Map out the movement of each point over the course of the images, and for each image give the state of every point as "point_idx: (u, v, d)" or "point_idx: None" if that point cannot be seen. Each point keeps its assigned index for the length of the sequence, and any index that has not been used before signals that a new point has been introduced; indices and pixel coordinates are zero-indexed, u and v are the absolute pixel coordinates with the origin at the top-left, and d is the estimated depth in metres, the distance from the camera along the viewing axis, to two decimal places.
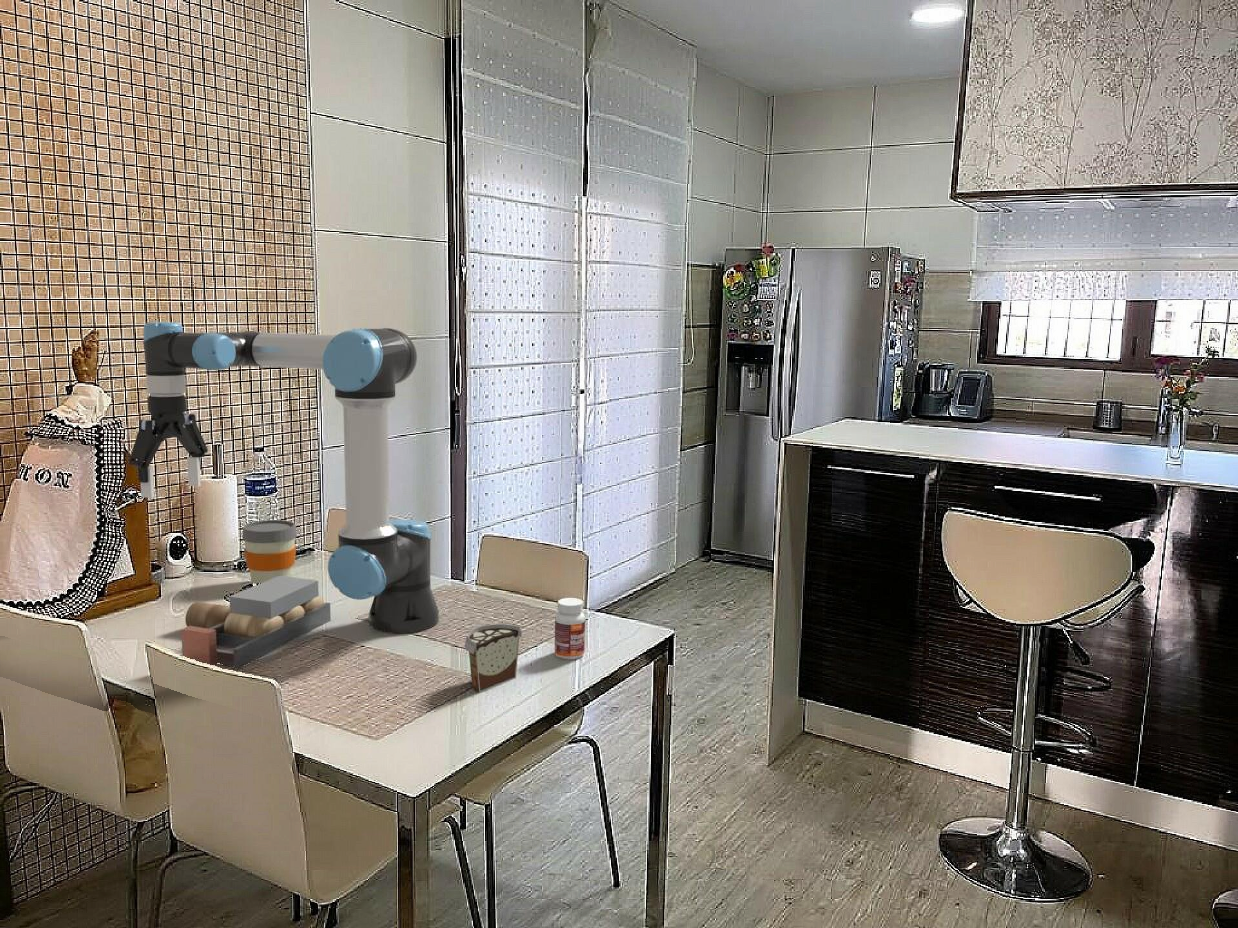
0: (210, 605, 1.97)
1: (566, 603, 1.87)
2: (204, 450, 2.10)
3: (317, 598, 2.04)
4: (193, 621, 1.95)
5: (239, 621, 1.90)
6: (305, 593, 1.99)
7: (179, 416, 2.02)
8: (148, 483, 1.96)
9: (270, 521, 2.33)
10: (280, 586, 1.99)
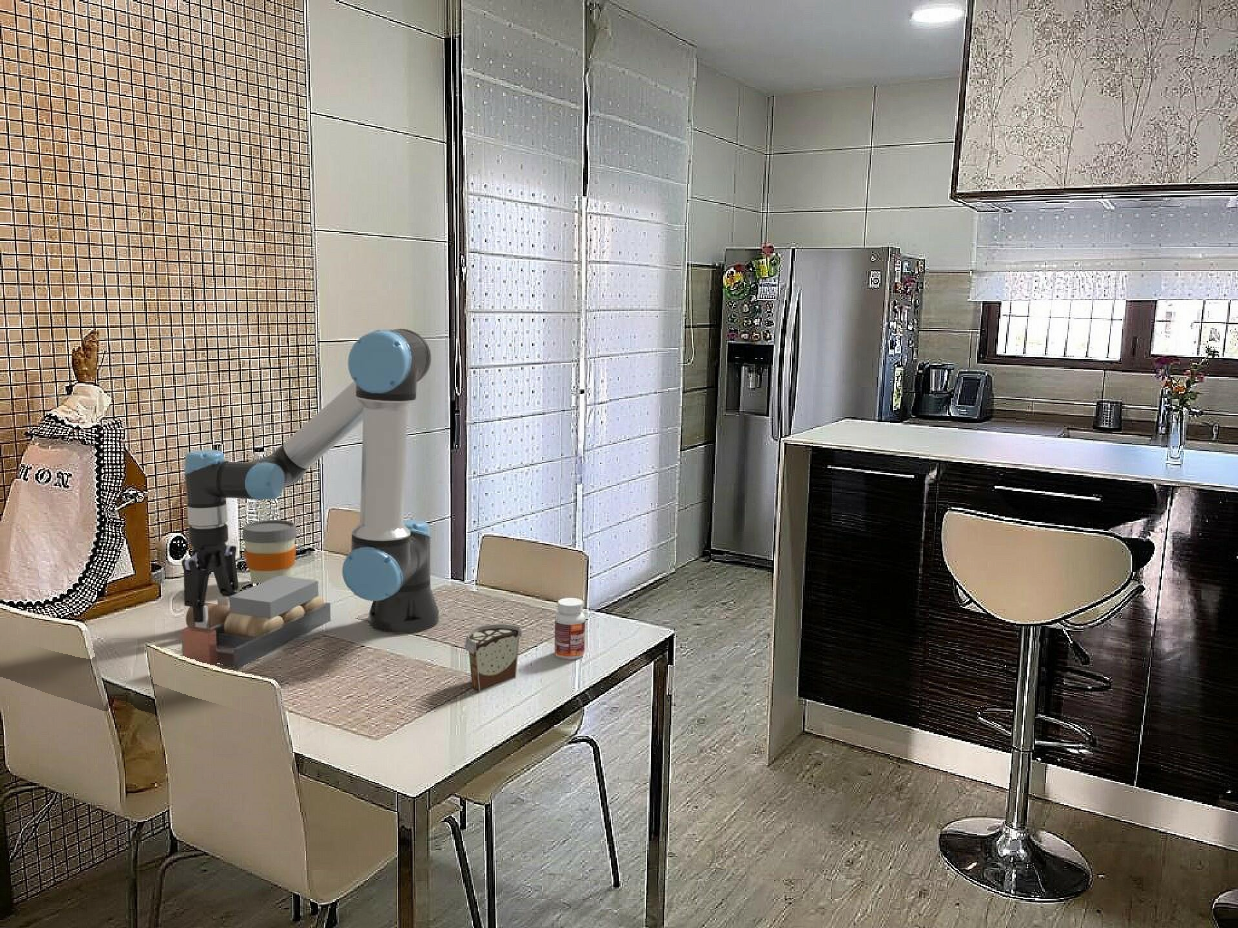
0: (214, 604, 1.97)
1: (566, 603, 1.87)
2: (235, 587, 2.01)
3: (317, 598, 2.04)
4: None
5: (239, 622, 1.90)
6: (305, 593, 1.99)
7: (222, 543, 1.97)
8: (203, 622, 1.93)
9: (270, 521, 2.33)
10: (280, 586, 1.99)
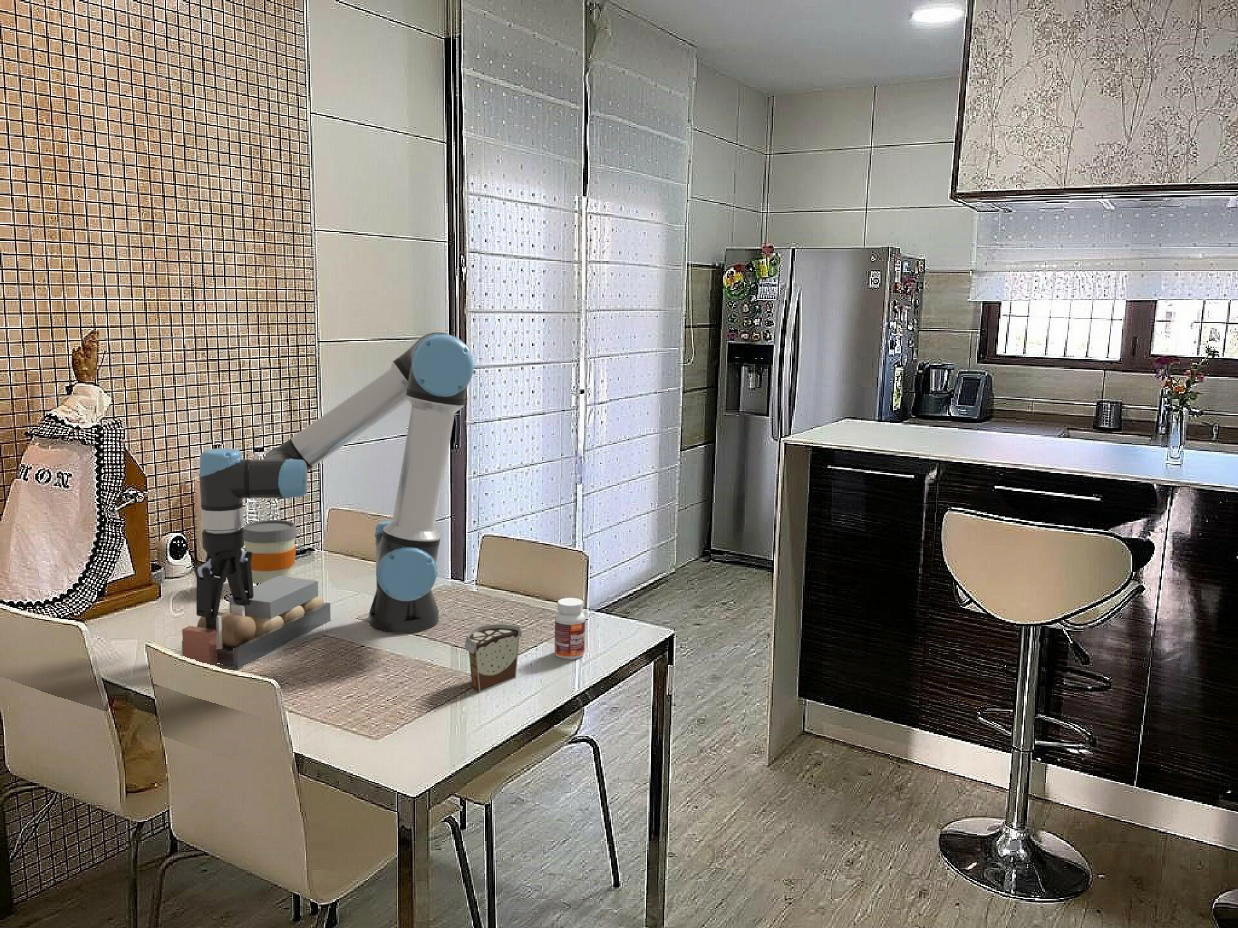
0: (226, 613, 1.84)
1: (566, 603, 1.87)
2: (250, 595, 1.88)
3: (317, 598, 2.04)
4: (205, 627, 1.82)
5: None
6: (305, 593, 1.99)
7: None
8: (216, 633, 1.80)
9: (270, 521, 2.33)
10: (280, 586, 1.99)
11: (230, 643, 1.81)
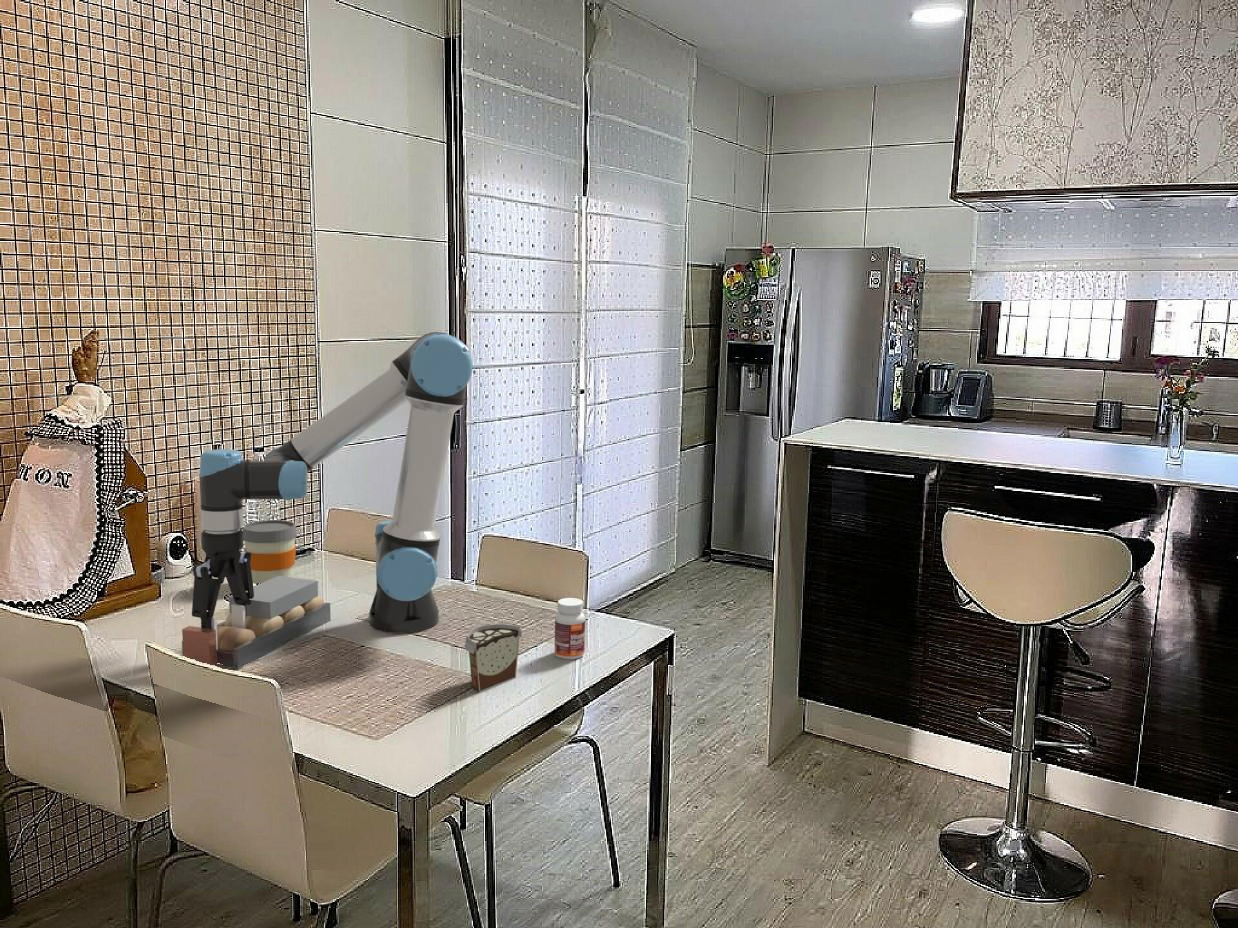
0: (226, 626, 1.84)
1: (566, 603, 1.87)
2: (250, 595, 1.88)
3: (317, 598, 2.04)
4: None
5: None
6: (305, 593, 1.99)
7: (236, 550, 1.83)
8: None
9: (270, 521, 2.33)
10: (279, 586, 1.99)
11: None
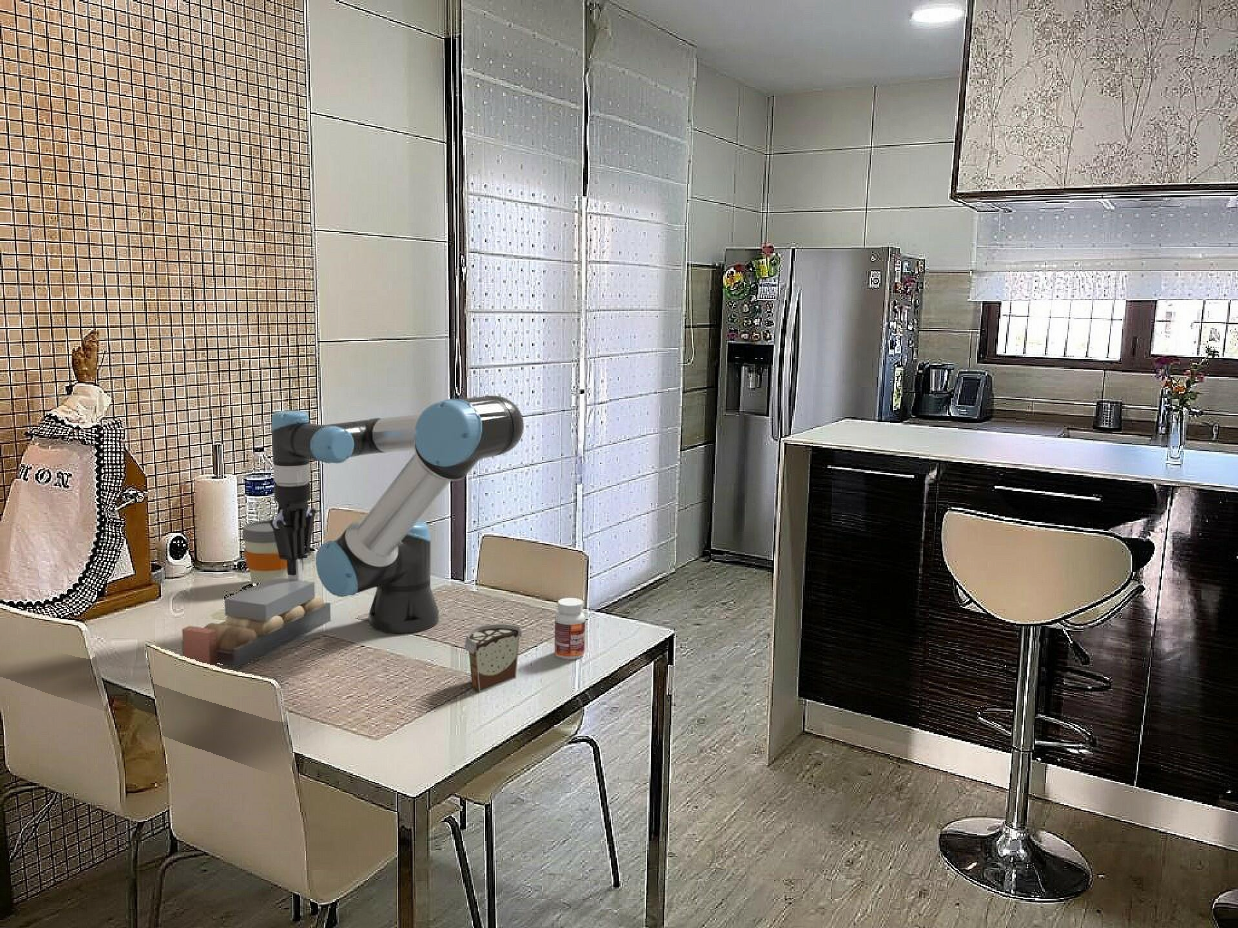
0: None
1: (566, 603, 1.87)
2: (307, 549, 2.05)
3: (316, 598, 2.03)
4: None
5: (239, 623, 1.90)
6: (301, 595, 1.98)
7: None
8: (296, 575, 2.03)
9: None
10: (276, 587, 1.98)
11: None
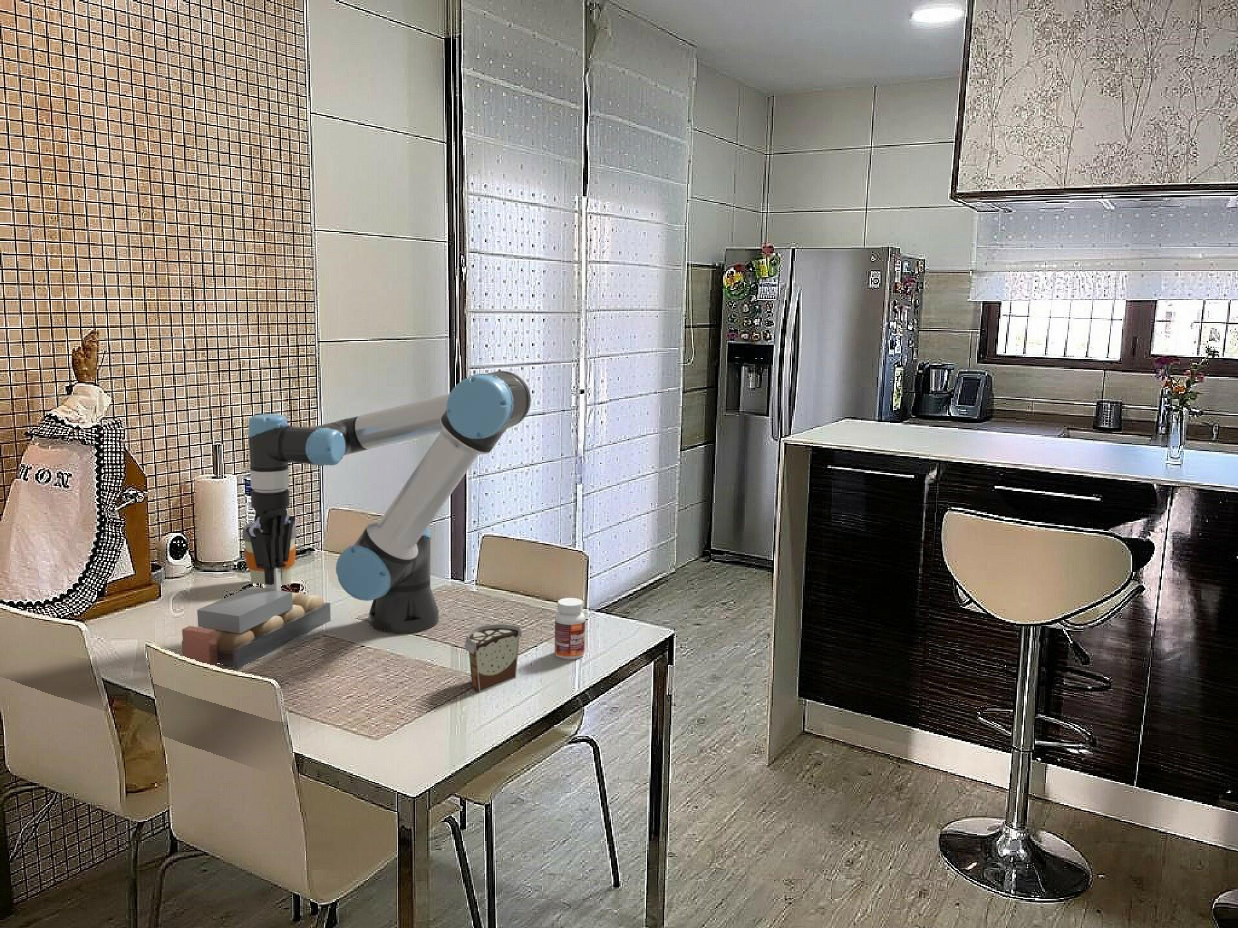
0: None
1: (566, 603, 1.87)
2: (285, 558, 1.98)
3: (316, 598, 2.03)
4: None
5: None
6: (278, 605, 1.91)
7: None
8: (274, 585, 1.96)
9: None
10: (251, 598, 1.91)
11: None
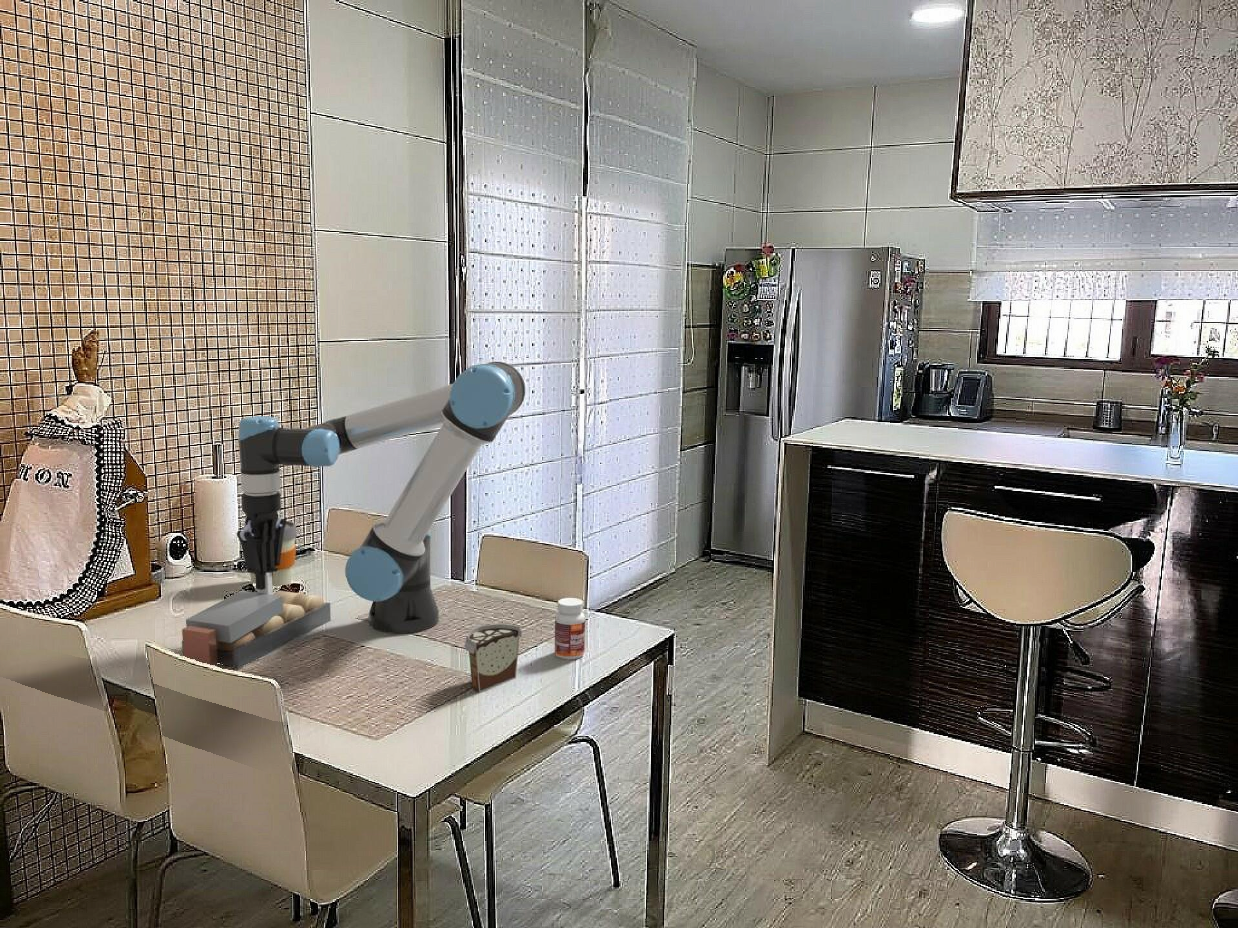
0: None
1: (566, 603, 1.87)
2: (277, 562, 1.95)
3: (316, 598, 2.03)
4: None
5: None
6: (268, 611, 1.88)
7: None
8: (265, 589, 1.93)
9: None
10: (241, 604, 1.87)
11: None
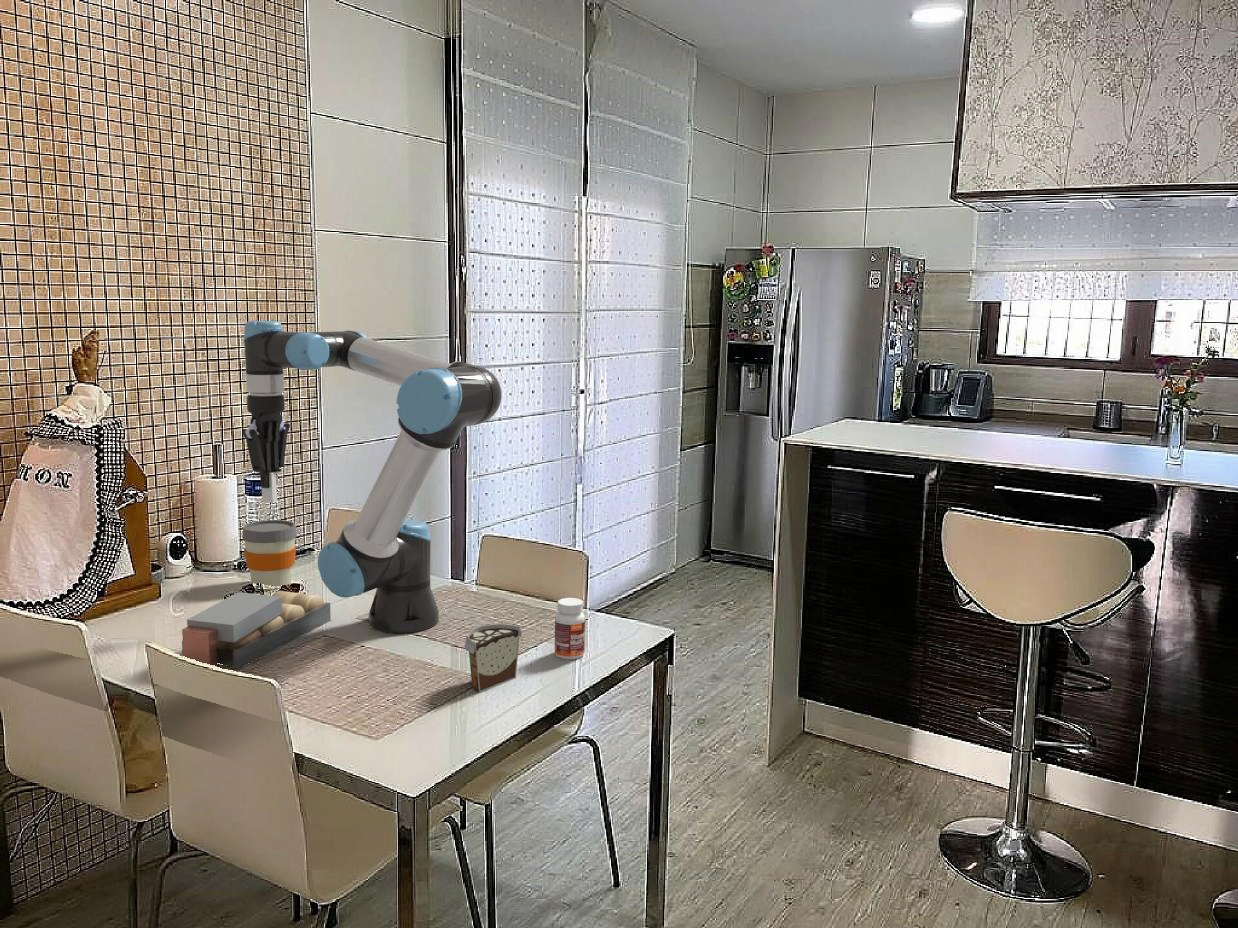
0: None
1: (566, 603, 1.87)
2: (281, 463, 2.04)
3: (316, 598, 2.03)
4: None
5: None
6: (269, 611, 1.87)
7: (279, 413, 2.02)
8: (269, 488, 2.01)
9: (270, 521, 2.33)
10: (241, 604, 1.86)
11: None
